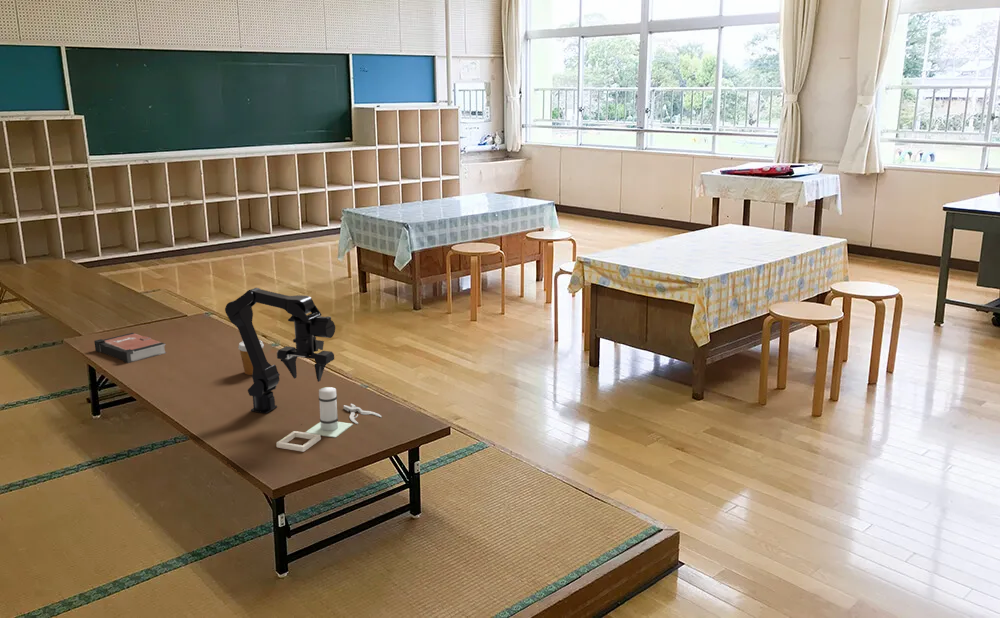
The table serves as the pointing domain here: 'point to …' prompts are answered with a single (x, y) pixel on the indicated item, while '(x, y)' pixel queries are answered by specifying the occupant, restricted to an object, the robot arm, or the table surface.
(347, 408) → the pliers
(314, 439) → the white square frame
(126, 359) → the book
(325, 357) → the robot arm
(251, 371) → the disposable coffee cup
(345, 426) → the mat
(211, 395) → the table surface
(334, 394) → the grey-banded white cylinder
